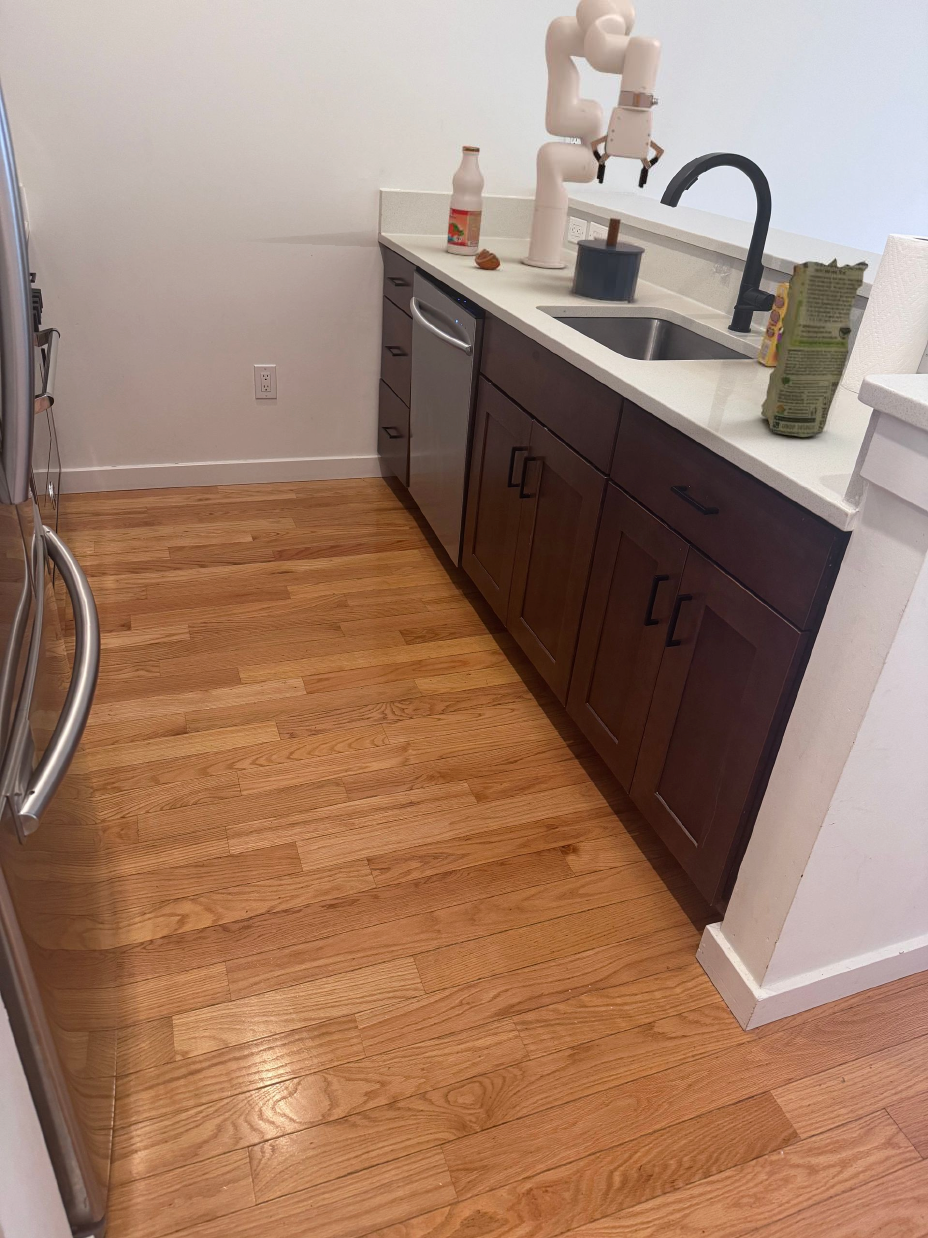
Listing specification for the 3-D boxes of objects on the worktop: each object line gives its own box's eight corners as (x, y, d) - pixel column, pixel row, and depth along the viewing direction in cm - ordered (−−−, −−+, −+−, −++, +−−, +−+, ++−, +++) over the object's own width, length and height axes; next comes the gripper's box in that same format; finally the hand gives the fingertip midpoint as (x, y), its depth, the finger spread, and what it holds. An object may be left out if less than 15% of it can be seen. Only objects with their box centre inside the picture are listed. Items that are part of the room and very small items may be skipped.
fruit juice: (480, 256, 258) (490, 149, 244) (448, 254, 257) (457, 146, 242) (474, 251, 266) (484, 147, 252) (444, 248, 264) (452, 143, 250)
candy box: (767, 367, 172) (789, 285, 164) (756, 361, 175) (777, 280, 168) (807, 368, 174) (830, 288, 166) (795, 362, 177) (818, 283, 170)
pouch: (748, 430, 135) (795, 257, 122) (755, 410, 144) (798, 248, 132) (823, 445, 132) (879, 269, 119) (825, 424, 141) (876, 259, 129)
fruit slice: (503, 273, 236) (505, 254, 234) (480, 272, 234) (482, 252, 232) (492, 267, 243) (494, 248, 240) (470, 266, 241) (471, 247, 238)
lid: (573, 242, 222) (577, 211, 218) (638, 248, 223) (643, 217, 219) (580, 252, 208) (585, 219, 204) (649, 259, 208) (655, 226, 205)
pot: (568, 287, 227) (575, 240, 221) (628, 293, 228) (637, 246, 222) (574, 299, 214) (582, 249, 208) (638, 306, 214) (647, 255, 208)
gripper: (669, 105, 203) (653, 187, 212) (595, 97, 202) (582, 179, 211) (675, 106, 196) (659, 190, 205) (599, 97, 196) (586, 182, 204)
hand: (620, 185), depth 208 cm, fingers open, 9 cm apart
